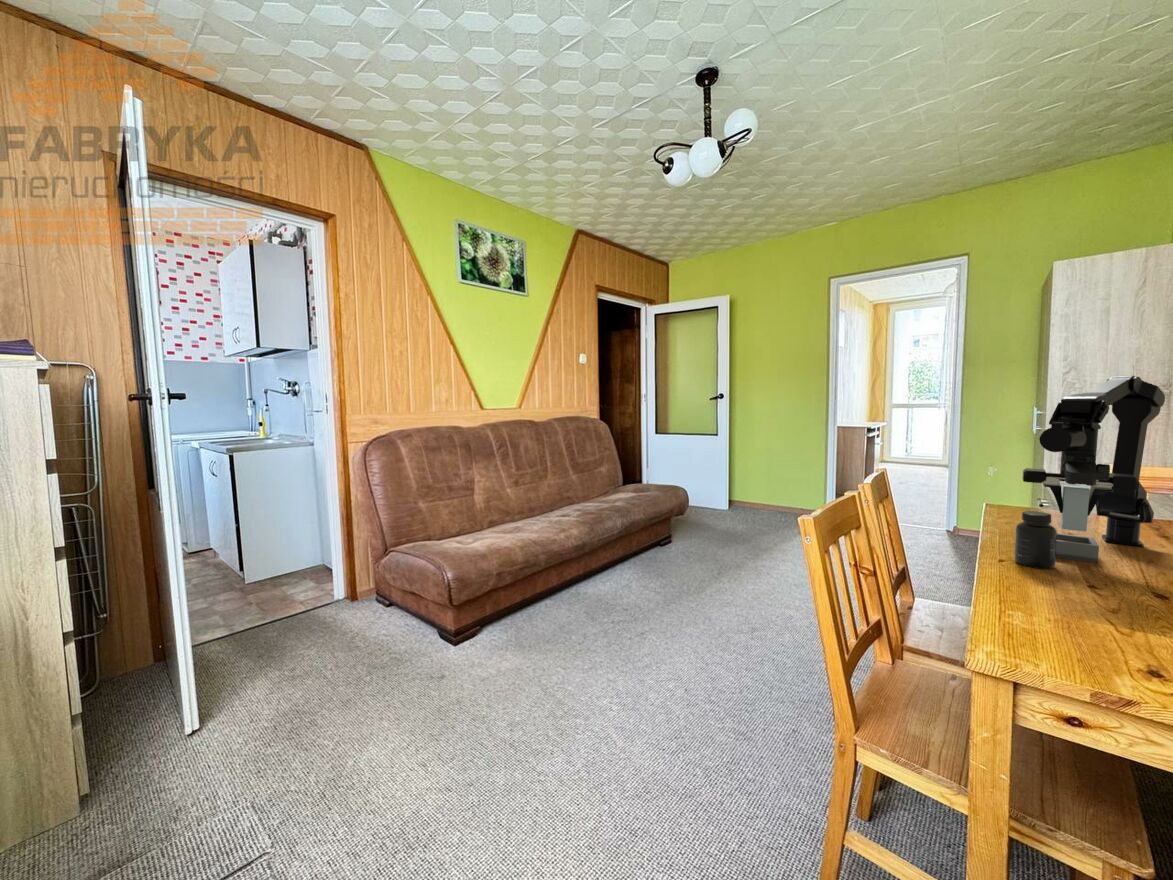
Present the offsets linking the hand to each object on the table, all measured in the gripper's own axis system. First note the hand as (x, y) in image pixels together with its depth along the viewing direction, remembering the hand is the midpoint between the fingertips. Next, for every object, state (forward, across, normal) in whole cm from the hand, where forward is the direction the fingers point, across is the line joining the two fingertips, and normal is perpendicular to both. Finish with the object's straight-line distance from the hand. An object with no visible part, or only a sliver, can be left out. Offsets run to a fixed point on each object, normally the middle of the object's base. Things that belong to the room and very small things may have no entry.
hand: (1074, 514), depth 112 cm
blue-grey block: (+4, 0, 0) cm, 4 cm away
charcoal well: (+10, 0, 0) cm, 10 cm away
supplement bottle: (+10, -7, -13) cm, 18 cm away
